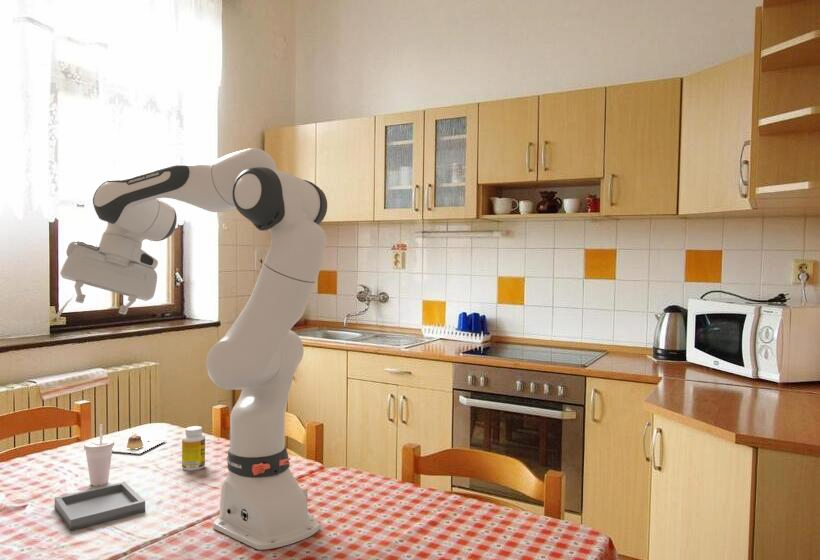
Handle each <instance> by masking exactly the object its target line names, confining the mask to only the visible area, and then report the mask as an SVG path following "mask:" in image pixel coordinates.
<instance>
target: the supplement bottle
mask: <svg viewBox="0 0 820 560" xmlns="http://www.w3.org/2000/svg"><path fill="white" fill-rule="evenodd" d="M202 427H203V426H199V425H193V426H188V427H186V428H185V432H184V433H185V434H184V435H183V436H182V438H181V468H182V469H183V470H184V471H190V472H193V471H199V470H201V469H203V468H205V466H206V436H205V435H206V434H204V433H203V428H202Z"/></svg>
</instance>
